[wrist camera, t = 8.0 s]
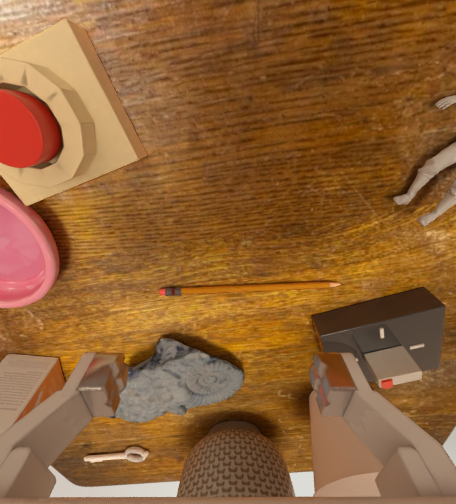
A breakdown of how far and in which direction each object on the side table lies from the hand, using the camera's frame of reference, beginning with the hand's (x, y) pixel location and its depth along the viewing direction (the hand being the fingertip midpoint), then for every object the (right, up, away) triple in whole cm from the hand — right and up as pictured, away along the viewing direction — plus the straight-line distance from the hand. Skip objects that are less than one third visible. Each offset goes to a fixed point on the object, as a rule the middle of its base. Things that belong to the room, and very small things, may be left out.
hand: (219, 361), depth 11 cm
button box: (-12, +14, +8) cm, 20 cm away
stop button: (-12, +12, +4) cm, 18 cm away
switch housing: (+17, -5, +19) cm, 26 cm away
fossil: (-7, -11, +22) cm, 25 cm away
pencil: (+3, +1, +15) cm, 15 cm away
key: (-20, -31, +33) cm, 50 cm away
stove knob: (+17, -6, +16) cm, 24 cm away
